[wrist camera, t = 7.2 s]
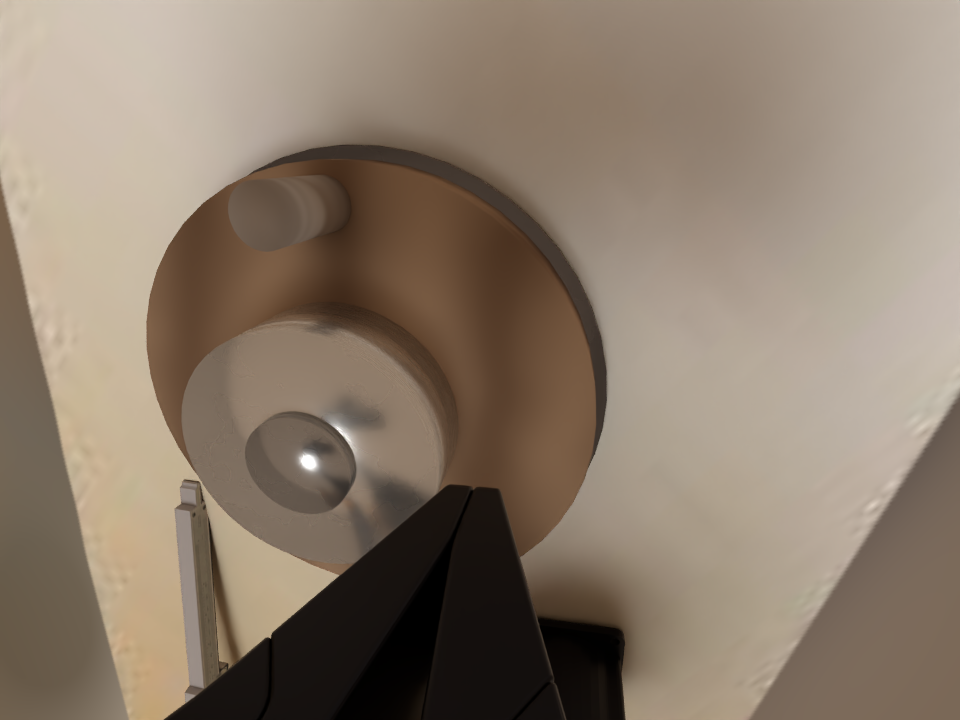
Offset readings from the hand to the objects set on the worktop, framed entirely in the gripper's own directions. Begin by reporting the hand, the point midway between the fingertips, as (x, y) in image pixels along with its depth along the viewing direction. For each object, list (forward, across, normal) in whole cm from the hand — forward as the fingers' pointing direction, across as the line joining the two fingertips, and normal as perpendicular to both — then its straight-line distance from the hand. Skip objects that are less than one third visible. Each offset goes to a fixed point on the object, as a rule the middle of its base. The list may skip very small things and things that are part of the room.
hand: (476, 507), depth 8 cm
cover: (+11, +8, +5) cm, 14 cm away
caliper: (+14, +20, +22) cm, 33 cm away
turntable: (+13, +8, +5) cm, 16 cm away
